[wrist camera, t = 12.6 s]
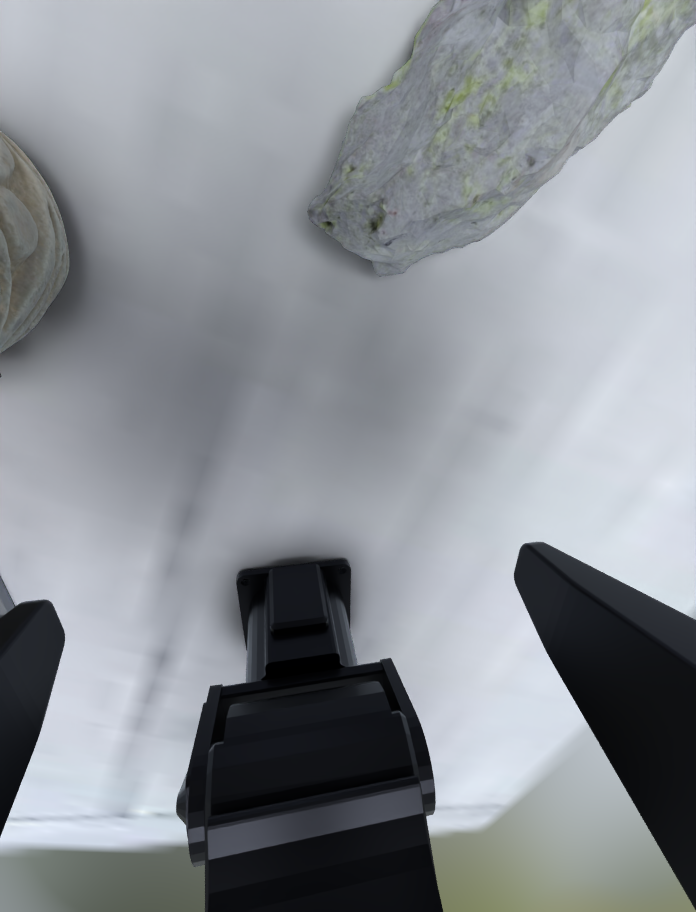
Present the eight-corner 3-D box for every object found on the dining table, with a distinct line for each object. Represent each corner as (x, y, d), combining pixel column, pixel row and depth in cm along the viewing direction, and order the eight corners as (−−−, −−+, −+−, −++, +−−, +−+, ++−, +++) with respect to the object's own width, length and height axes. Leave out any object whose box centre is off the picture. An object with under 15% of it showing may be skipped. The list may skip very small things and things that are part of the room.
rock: (402, 329, 20) (463, 370, 14) (282, 201, 17) (293, 183, 11) (695, 19, 16) (942, -104, 10) (612, -217, 13) (899, -586, 7)
